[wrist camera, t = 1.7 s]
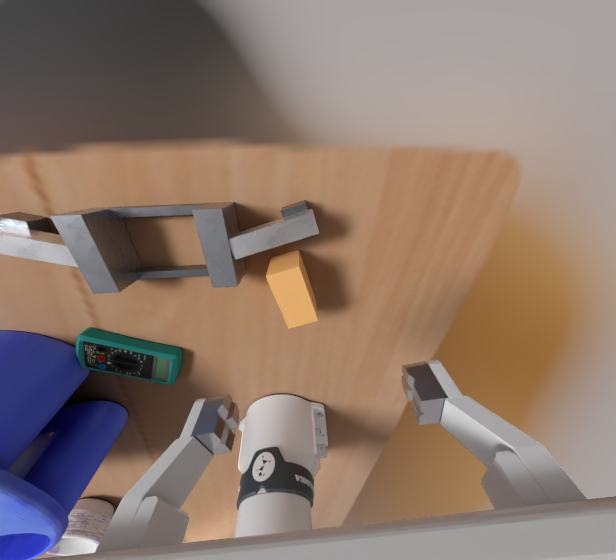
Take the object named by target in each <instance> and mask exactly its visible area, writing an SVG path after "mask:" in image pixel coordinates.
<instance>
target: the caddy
mask: <svg viewBox="0 0 616 560" xmlns="http://www.w3.org/2000/svg"><path fill="white" fill-rule="evenodd" d="M89 373H90V370H89V369H84V368H82V367H81V364H80V362H79V360H78V357H77V354H76V348H75V347H73V346H71V345H68V344H66V343H63V342H61V341H59V340H55V339H52V338H49V337H45V336H41V335H37V334H32V333H27V332H19V331H0V560H30V559H33V558H35V557H38V556H40V555H42V554H44V553H46V552H47V551H49V550H50V549H52V548H53V547H54V546H56V544H57V543H58V542H59V541H60V539H61V538H62V536H63V534H64V533H65V531H66V529H67V527H68V523H69V519H68V516H69V514H70V512H71V511H72V509H73V508H74V506H75V504H76V503H77V501H78V500H79V498H80V497H81V495H82V493H83V492H84V490H85V489H86V487H87V485H88V484H89V482H90V481H91V479H92V477H93V476H94V474H95V473H96V471H97V469H98V468H99V466H100V465H101V463H102V461H103V460H104V458H105V457H106V455H107V453H108V452H109V450H110V449H111V447H112V445H113V444H114V442H115V441H116V439H117V437H118V436H119V434H120V432H121V431H122V429H123V428H124V426H125V424H126V423H127V421H128V413H127V411H126V410H125V408H123V407H122V406H120V405H118V404H116V403H113V402H109V401H100V400H99V401H90V402H85V403H80V404H75V405H71V406H66V407H62V406H63V405H64V403H65V402H66V401H67V400H68V399H69V397H70V396H71V395H72V394H73V393H74V392H75V390H76V389H77V388H78V387H79V386H80V384H81V383H82V382H83V381H84V380H85V378H86V377H87V376H88V375H89Z"/></svg>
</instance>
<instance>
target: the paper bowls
mask: <svg viewBox="0 0 616 560" xmlns="http://www.w3.org/2000/svg"><path fill="white" fill-rule="evenodd" d="M113 511H114V508H113V506H112V504H110V503H109V502H107V501H104V500H101V499H95V498H85V499H80V500H78V501H77V503H76V504H75V506H74V508H73V509H72V511H71V512H70V514H69V516H68V519H69V523H68V527H67V529H66V531H65V533H64V534H63V536H62V538H61V539H60V541H59V542H58V543H57V544H56V546H54V547H53V548H52V549H50V550H49V551H47V552H46V553H49V554H54V555H63V556H69V555H79V554H88V553H95V551H96V549H97V547H98V545H99V543H100V541H101V539H102V537H103V535H104V533H105V531H106V529H107V527H108V526H109V524H110V522H111V520H112V518H113Z"/></svg>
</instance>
